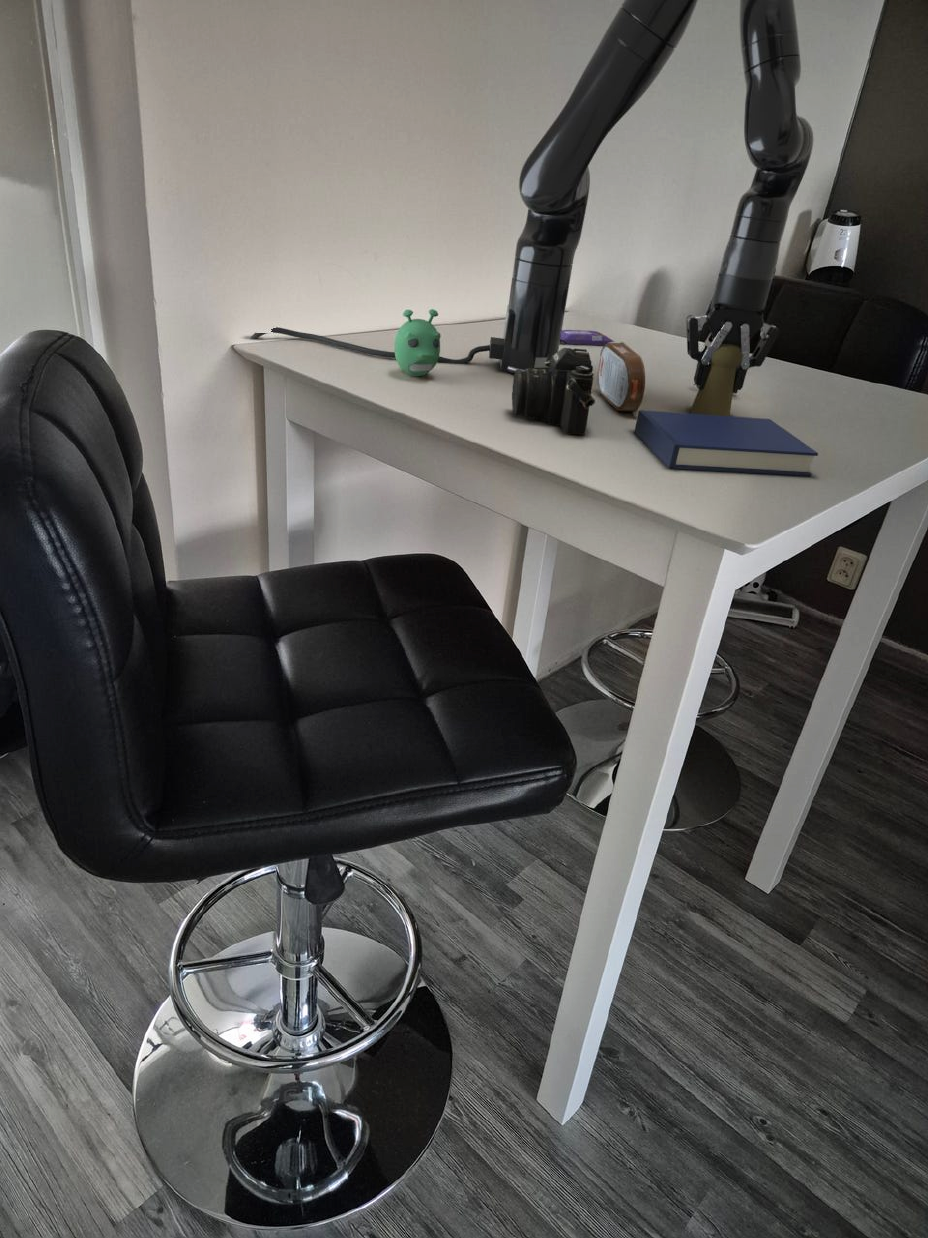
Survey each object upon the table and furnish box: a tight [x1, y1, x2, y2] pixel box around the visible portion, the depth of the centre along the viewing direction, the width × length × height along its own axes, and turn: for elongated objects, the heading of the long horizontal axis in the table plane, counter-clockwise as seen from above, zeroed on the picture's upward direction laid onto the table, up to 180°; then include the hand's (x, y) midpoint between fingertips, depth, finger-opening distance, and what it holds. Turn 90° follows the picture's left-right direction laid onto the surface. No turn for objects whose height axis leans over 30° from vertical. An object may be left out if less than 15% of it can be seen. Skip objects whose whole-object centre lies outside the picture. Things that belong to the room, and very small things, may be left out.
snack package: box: [560, 329, 616, 346], centre depth 171 cm, size 12×2×5 cm
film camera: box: [511, 347, 596, 436], centre depth 123 cm, size 18×12×10 cm
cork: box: [690, 342, 743, 416], centre depth 134 cm, size 6×6×11 cm
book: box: [633, 409, 819, 477], centre depth 119 cm, size 20×14×3 cm
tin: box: [597, 341, 646, 413], centre depth 134 cm, size 15×3×8 cm, turn 9°
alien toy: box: [394, 308, 442, 377], centre depth 134 cm, size 7×8×10 cm
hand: (716, 389), depth 135 cm, fingers closed on cork, 4 cm apart
